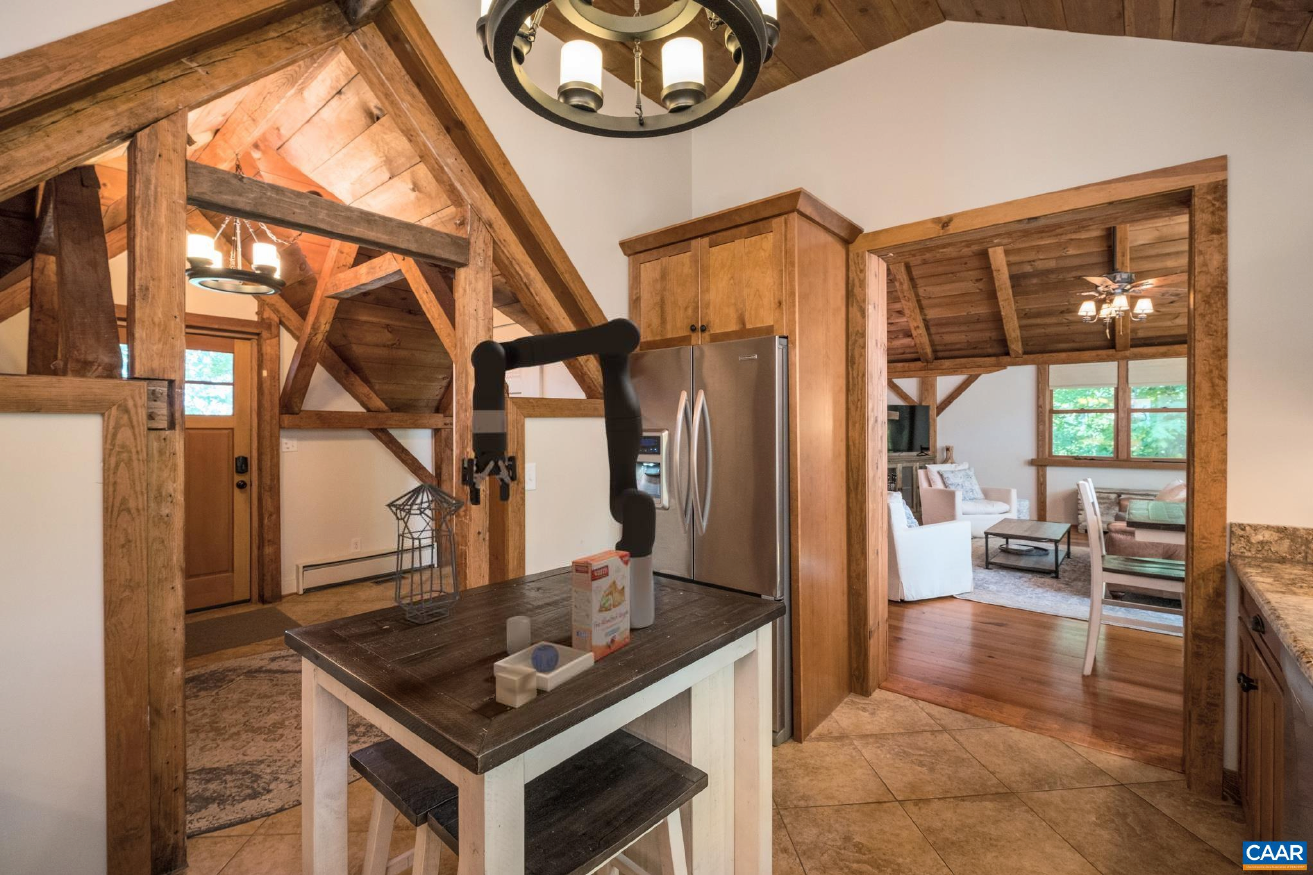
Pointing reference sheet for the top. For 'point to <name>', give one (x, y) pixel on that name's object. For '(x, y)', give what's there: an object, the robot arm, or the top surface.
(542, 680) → the tray
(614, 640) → the cracker box
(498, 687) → the wooden block
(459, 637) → the top surface
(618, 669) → the top surface
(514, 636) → the grey rounded cylinder
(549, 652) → the decorative dice
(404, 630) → the top surface
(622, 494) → the robot arm
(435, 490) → the geometric lantern
